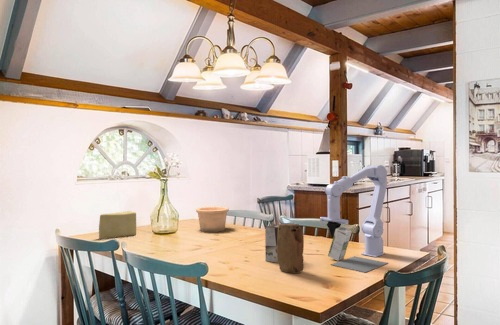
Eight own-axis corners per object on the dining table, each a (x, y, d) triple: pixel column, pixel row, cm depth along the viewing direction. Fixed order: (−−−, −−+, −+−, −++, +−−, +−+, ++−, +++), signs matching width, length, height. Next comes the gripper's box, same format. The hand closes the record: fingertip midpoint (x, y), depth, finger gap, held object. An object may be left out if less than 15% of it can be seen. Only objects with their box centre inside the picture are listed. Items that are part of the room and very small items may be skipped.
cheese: (102, 240, 232) (102, 215, 231) (96, 238, 239) (95, 213, 238) (137, 235, 247) (136, 211, 247) (130, 233, 254) (129, 210, 254)
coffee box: (277, 262, 178) (277, 227, 178) (265, 261, 181) (264, 226, 181) (286, 258, 186) (285, 224, 186) (274, 256, 189) (273, 223, 189)
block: (275, 269, 166) (275, 223, 166) (287, 266, 171) (287, 221, 171) (295, 275, 158) (294, 226, 158) (306, 271, 163) (306, 224, 163)
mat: (354, 256, 187) (354, 256, 187) (388, 263, 175) (388, 262, 175) (330, 265, 173) (330, 264, 173) (365, 272, 161) (365, 272, 161)
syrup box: (333, 253, 187) (340, 225, 184) (344, 259, 183) (352, 230, 180) (327, 256, 182) (335, 227, 180) (338, 261, 179) (346, 232, 176)
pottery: (203, 234, 248) (203, 211, 247) (191, 228, 267) (191, 208, 267) (234, 230, 258) (233, 209, 258) (220, 226, 277) (220, 206, 277)
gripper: (316, 208, 186) (316, 237, 186) (342, 211, 175) (342, 241, 175) (324, 207, 191) (325, 235, 191) (350, 210, 180) (350, 239, 180)
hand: (333, 238), depth 183 cm, fingers closed
